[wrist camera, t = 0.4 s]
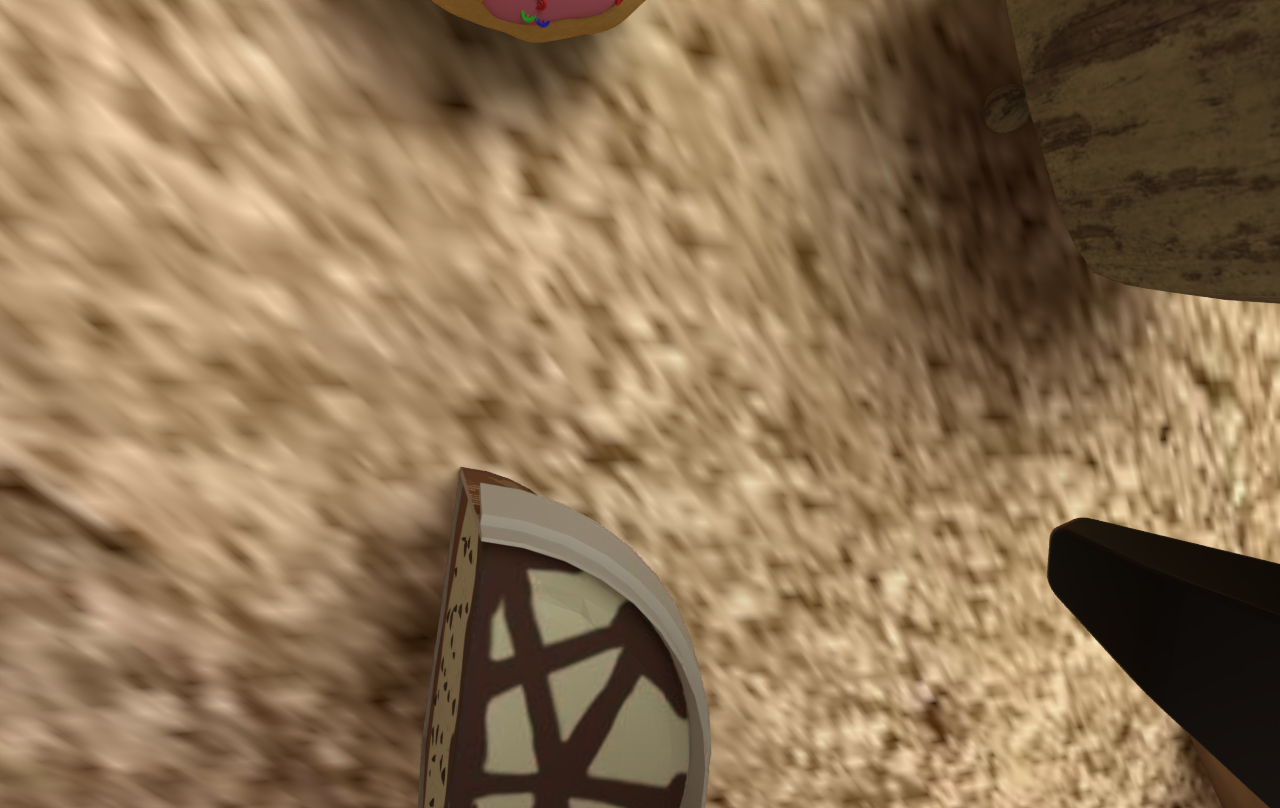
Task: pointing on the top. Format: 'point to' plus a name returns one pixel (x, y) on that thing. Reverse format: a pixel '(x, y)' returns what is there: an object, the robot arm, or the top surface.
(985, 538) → the top surface
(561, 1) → the cupcake
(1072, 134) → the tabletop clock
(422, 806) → the food container
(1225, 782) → the walnut block
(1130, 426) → the top surface
